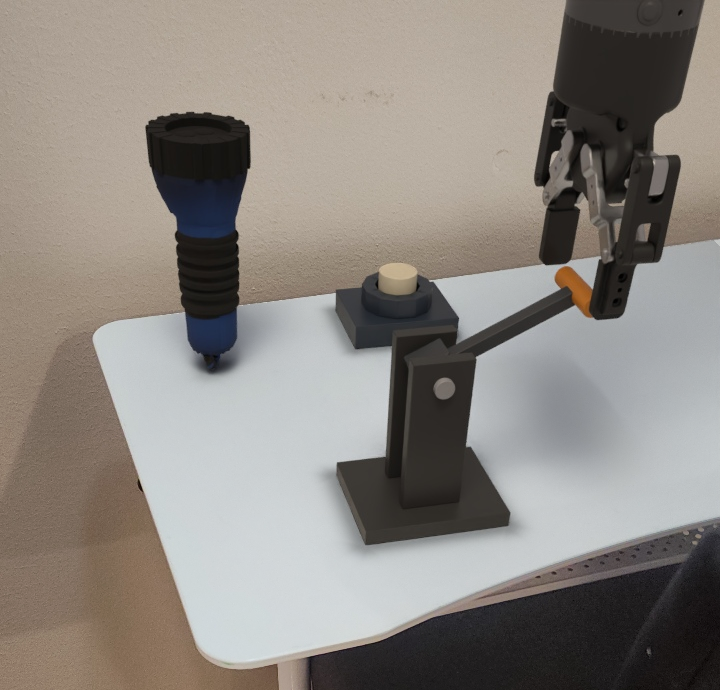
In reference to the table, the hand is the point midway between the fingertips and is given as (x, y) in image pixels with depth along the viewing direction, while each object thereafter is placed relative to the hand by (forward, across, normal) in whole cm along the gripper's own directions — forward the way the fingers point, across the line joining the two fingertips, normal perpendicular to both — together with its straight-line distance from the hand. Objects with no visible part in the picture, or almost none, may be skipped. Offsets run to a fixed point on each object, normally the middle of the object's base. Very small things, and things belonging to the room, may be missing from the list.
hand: (578, 288), depth 67 cm
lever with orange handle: (+4, 0, +5) cm, 6 cm away
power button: (+12, +28, +4) cm, 31 cm away
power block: (+16, +28, +4) cm, 32 cm away
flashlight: (+16, +24, +22) cm, 36 cm away
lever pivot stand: (+16, 0, +10) cm, 19 cm away
